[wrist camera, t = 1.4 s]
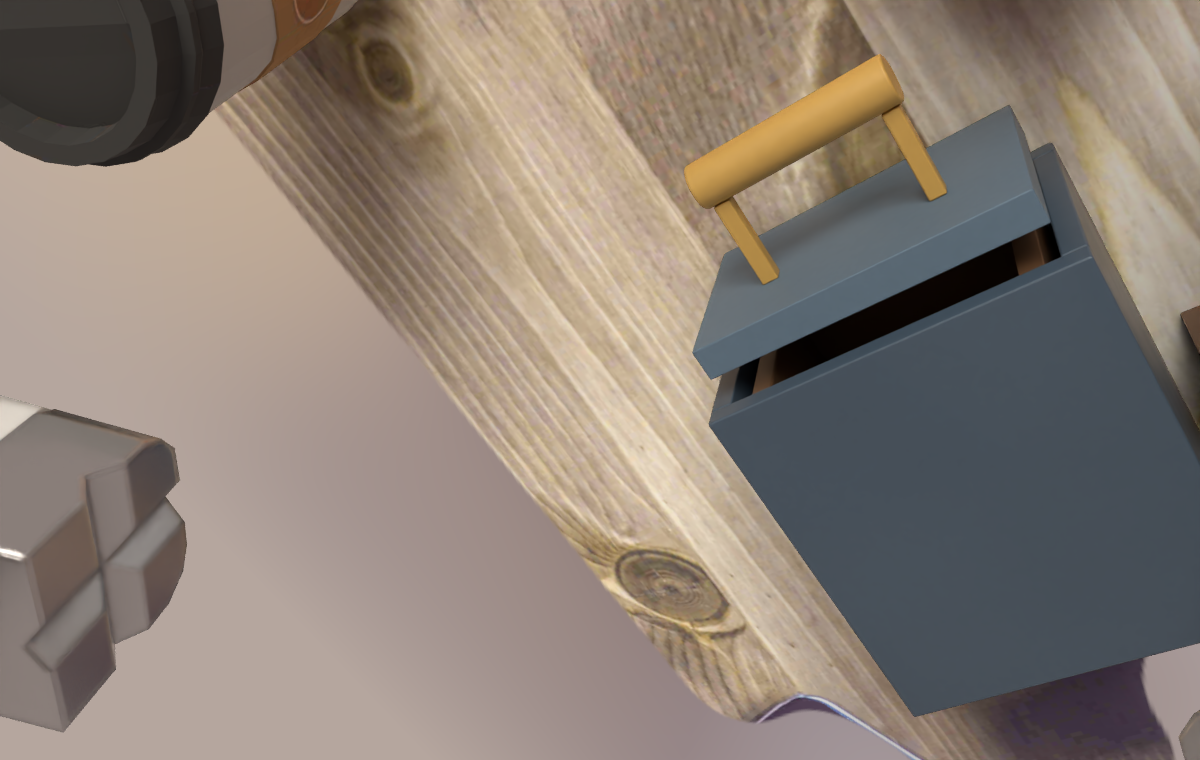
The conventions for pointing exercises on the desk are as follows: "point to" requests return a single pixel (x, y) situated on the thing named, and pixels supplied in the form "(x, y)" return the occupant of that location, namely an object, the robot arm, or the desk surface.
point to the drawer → (863, 230)
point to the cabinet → (991, 479)
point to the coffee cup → (136, 69)
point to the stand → (1193, 324)
